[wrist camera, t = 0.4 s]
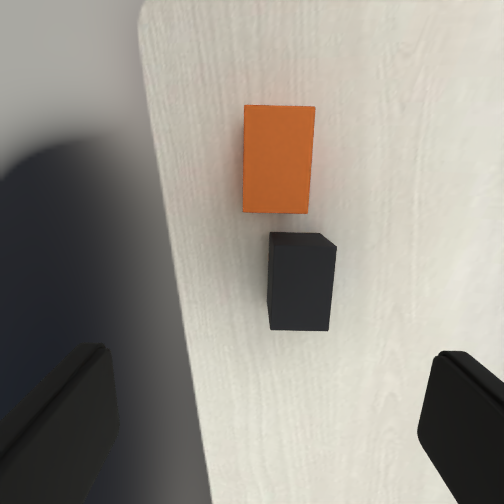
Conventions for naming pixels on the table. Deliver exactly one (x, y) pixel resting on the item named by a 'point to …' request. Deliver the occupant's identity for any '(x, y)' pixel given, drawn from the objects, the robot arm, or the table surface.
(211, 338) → the table surface
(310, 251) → the black block
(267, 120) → the orange block
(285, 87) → the table surface
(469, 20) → the table surface
